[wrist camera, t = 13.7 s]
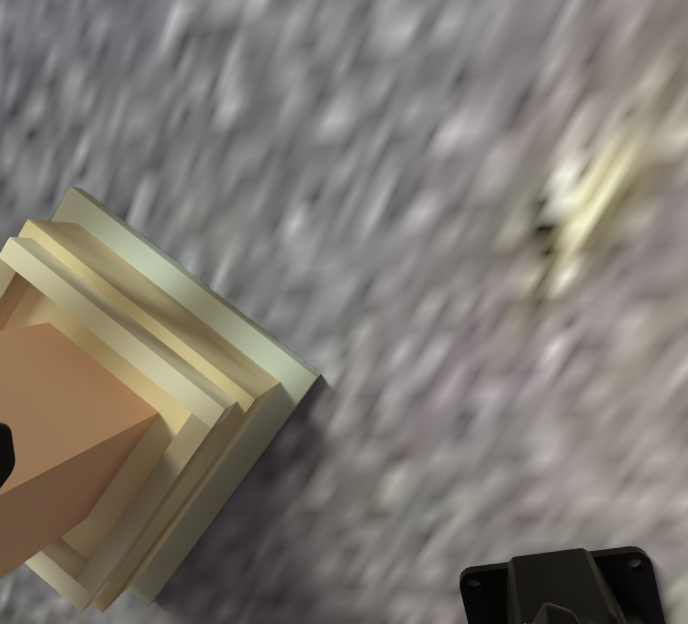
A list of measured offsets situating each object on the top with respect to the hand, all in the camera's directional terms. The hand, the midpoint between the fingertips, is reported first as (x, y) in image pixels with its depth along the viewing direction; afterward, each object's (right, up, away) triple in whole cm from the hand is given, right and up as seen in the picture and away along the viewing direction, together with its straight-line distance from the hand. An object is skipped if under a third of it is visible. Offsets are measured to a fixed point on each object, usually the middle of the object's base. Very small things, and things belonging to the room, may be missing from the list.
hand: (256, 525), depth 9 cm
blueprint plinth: (-8, 0, +15) cm, 17 cm away
